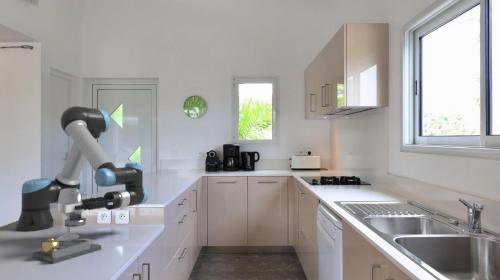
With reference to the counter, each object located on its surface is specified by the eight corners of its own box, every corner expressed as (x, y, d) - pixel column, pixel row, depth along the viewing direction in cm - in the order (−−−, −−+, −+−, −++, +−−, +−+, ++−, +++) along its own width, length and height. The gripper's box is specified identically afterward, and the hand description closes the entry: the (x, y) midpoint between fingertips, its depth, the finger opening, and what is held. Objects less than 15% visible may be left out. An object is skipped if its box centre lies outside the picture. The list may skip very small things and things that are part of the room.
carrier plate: (31, 256, 113) (31, 238, 113) (79, 243, 129) (80, 227, 129) (53, 263, 106) (53, 244, 107) (101, 249, 122) (101, 232, 122)
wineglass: (69, 241, 132) (70, 190, 132) (51, 240, 133) (52, 190, 134) (84, 236, 140) (85, 188, 141) (67, 235, 142) (68, 187, 142)
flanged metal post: (60, 225, 119) (61, 193, 120) (78, 221, 125) (79, 191, 126) (72, 227, 116) (73, 194, 117) (89, 223, 122) (90, 192, 123)
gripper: (129, 210, 132) (75, 221, 112) (103, 206, 141) (48, 216, 120) (129, 192, 133) (75, 200, 112) (103, 189, 141) (48, 196, 121)
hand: (61, 208), depth 116 cm, fingers closed on flanged metal post, 4 cm apart
